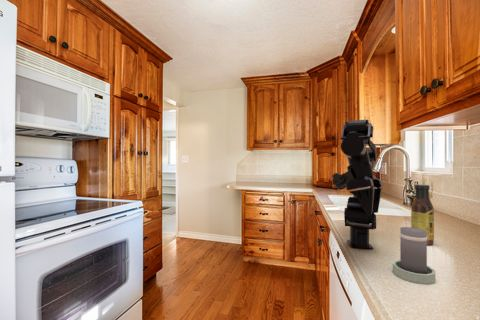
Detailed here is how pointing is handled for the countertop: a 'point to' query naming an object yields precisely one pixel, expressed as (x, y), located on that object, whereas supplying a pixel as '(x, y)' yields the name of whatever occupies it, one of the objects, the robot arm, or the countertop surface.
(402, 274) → the collar ring
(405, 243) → the grey upright cylinder
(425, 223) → the sauce bottle
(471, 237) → the countertop surface
